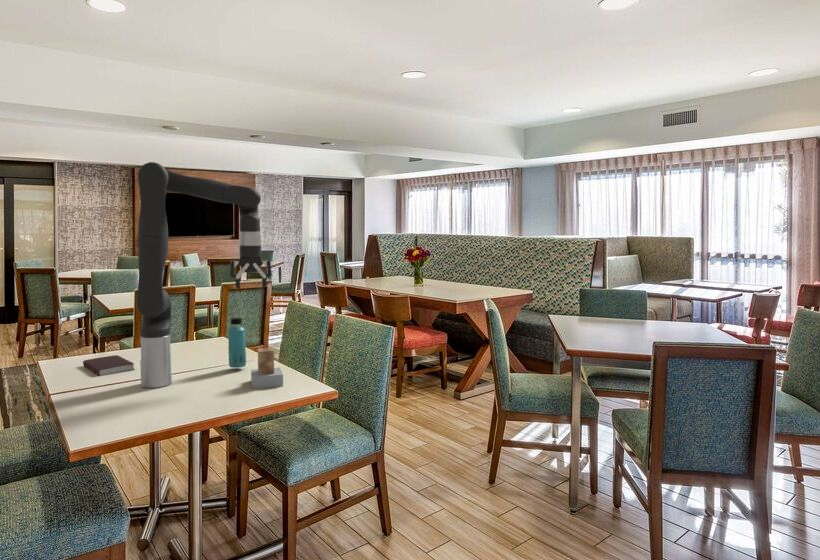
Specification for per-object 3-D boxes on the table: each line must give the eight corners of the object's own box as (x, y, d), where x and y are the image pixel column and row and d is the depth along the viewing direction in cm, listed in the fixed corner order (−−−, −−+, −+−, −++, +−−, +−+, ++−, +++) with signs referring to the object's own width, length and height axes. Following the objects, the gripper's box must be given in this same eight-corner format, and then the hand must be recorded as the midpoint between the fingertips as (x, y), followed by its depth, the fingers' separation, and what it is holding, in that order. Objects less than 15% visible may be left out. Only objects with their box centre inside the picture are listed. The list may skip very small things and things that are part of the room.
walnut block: (259, 374, 186) (258, 351, 185) (258, 370, 191) (257, 348, 190) (274, 373, 188) (273, 350, 187) (272, 369, 193) (272, 347, 192)
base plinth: (253, 388, 183) (252, 377, 183) (251, 380, 193) (251, 369, 192) (283, 385, 187) (282, 374, 186) (279, 378, 196) (279, 367, 196)
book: (98, 377, 196) (98, 369, 196) (83, 367, 210) (82, 359, 209) (135, 371, 205) (134, 363, 205) (118, 361, 218) (117, 354, 218)
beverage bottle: (241, 372, 204) (240, 319, 202) (225, 371, 205) (223, 319, 203) (249, 367, 210) (248, 316, 208) (234, 366, 211) (232, 316, 209)
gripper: (229, 244, 189) (230, 290, 191) (271, 244, 194) (272, 289, 195) (229, 243, 196) (230, 288, 198) (269, 243, 201) (270, 287, 202)
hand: (251, 288), depth 196 cm, fingers open, 8 cm apart
